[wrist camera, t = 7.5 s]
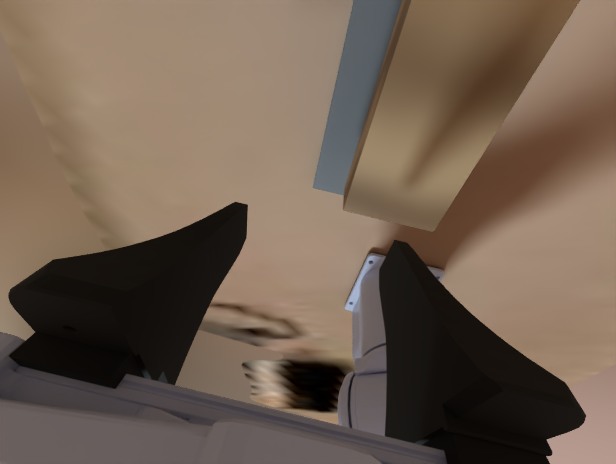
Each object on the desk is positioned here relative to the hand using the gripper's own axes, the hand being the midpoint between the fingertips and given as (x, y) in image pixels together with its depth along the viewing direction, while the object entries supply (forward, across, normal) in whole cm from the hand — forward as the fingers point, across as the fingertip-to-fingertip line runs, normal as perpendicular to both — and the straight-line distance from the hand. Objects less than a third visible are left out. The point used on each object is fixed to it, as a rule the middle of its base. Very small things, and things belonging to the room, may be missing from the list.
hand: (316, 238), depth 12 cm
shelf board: (+6, -4, -7) cm, 10 cm away
